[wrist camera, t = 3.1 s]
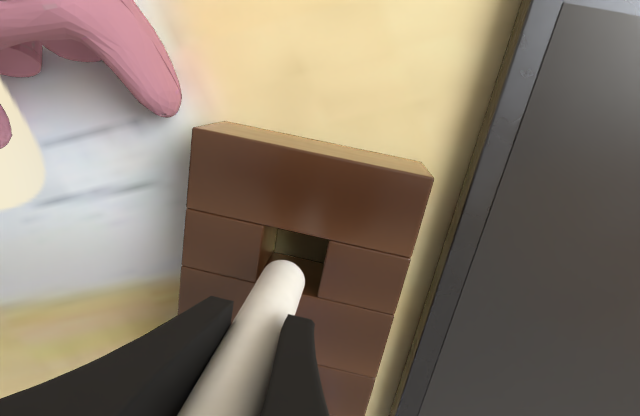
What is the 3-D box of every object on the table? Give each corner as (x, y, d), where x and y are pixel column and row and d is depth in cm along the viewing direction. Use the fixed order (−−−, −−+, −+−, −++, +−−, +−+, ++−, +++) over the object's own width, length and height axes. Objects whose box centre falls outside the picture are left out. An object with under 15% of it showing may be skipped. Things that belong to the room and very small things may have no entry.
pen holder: (350, 418, 19) (347, 474, 17) (196, 380, 20) (168, 427, 17) (422, 161, 15) (435, 177, 12) (223, 120, 16) (191, 126, 13)
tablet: (692, 522, 19) (711, 546, 18) (379, 442, 20) (380, 461, 19) (1037, 60, 12) (1099, 57, 11) (530, -28, 13) (543, -39, 12)
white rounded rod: (303, 294, 13) (221, 552, 6) (263, 284, 14) (131, 527, 6) (311, 256, 13) (231, 485, 5) (270, 247, 13) (134, 459, 5)
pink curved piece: (190, 23, 16) (42, -158, 9) (194, 123, 15) (35, 3, 8) (-1, 68, 18) (-246, -59, 11) (-7, 159, 17) (-277, 84, 10)
